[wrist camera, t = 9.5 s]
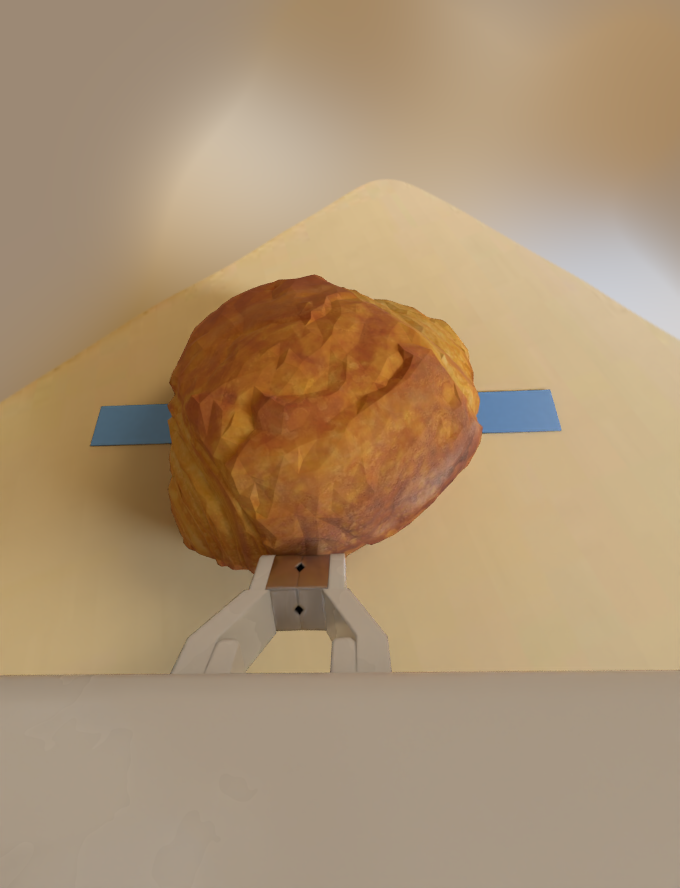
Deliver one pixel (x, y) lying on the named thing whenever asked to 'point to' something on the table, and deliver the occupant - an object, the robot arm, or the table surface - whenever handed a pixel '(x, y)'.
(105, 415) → the tape line
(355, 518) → the croissant
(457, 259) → the table surface
